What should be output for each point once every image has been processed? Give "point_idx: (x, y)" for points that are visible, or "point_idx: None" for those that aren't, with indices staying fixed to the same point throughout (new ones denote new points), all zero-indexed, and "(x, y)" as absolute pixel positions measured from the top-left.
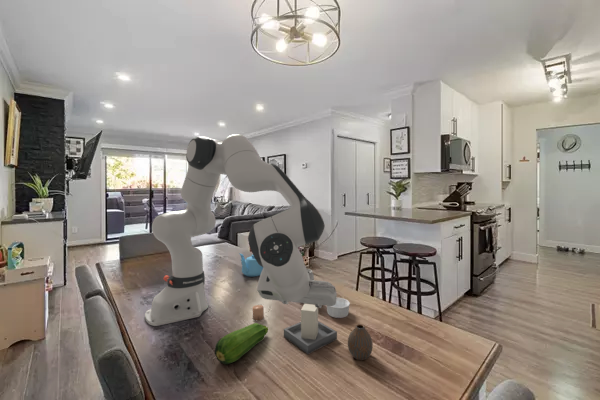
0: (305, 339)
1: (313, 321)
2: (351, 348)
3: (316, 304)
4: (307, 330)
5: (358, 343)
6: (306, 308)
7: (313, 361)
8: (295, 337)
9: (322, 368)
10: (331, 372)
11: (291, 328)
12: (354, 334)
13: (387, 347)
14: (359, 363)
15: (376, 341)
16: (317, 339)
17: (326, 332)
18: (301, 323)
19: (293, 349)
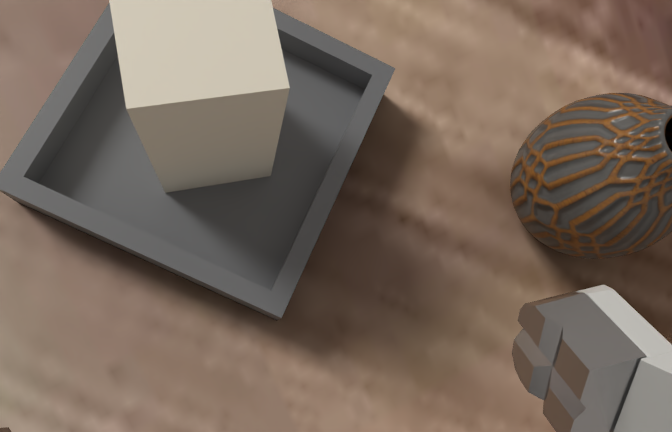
0: (204, 200)
1: (265, 131)
2: (571, 248)
3: (591, 430)
4: (211, 166)
5: (645, 240)
6: (173, 58)
7: (339, 371)
8: (144, 256)
9: (415, 407)
10: (474, 415)
11: (50, 141)
12: (635, 200)
13: (649, 65)
14: (575, 264)
15: (584, 31)
16: (310, 211)
17: (306, 65)
18: (153, 158)
19: (160, 314)
